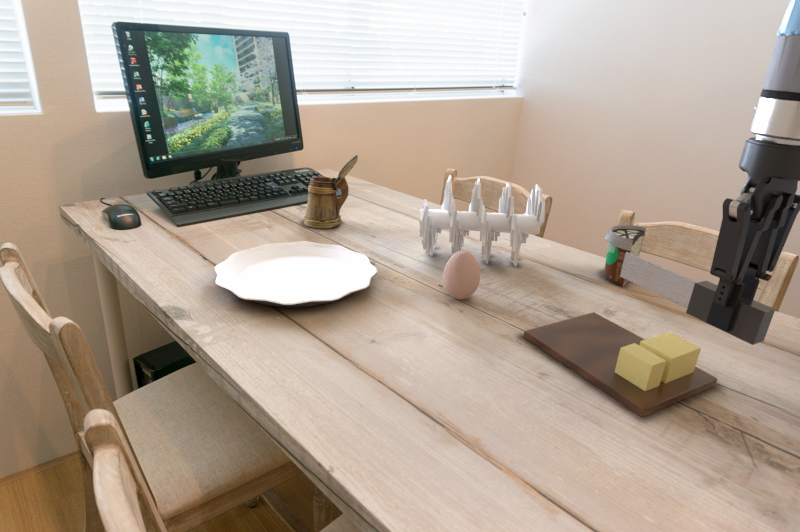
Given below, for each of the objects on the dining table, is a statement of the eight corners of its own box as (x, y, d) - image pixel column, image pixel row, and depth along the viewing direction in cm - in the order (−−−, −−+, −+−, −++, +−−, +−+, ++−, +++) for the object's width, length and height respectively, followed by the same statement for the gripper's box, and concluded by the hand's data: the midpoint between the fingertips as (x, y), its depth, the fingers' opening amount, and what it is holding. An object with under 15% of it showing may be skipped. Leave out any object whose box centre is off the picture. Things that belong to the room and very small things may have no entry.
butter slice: (659, 385, 71) (666, 360, 70) (645, 391, 70) (652, 365, 68) (628, 367, 75) (634, 342, 74) (614, 372, 74) (620, 347, 72)
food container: (607, 263, 117) (616, 220, 113) (636, 271, 114) (647, 226, 110) (590, 280, 108) (599, 233, 104) (621, 288, 105) (632, 240, 101)
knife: (763, 341, 65) (775, 309, 64) (752, 345, 64) (764, 312, 63) (625, 277, 82) (632, 250, 81) (614, 279, 81) (621, 251, 80)
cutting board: (715, 385, 74) (718, 378, 74) (641, 417, 67) (644, 409, 66) (592, 318, 92) (594, 312, 91) (523, 337, 84) (524, 330, 84)
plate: (184, 277, 98) (182, 265, 97) (307, 242, 119) (306, 232, 118) (283, 334, 81) (282, 320, 80) (406, 281, 102) (407, 270, 101)
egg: (484, 303, 95) (490, 255, 92) (453, 308, 92) (458, 260, 89) (464, 288, 101) (469, 243, 97) (434, 293, 98) (438, 247, 94)
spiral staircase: (422, 262, 122) (533, 270, 119) (412, 255, 105) (542, 264, 101) (428, 184, 124) (538, 189, 120) (419, 165, 106) (547, 170, 102)
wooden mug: (348, 233, 126) (350, 158, 120) (297, 225, 130) (296, 151, 123) (362, 223, 134) (364, 152, 128) (313, 216, 138) (313, 146, 131)
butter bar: (693, 372, 75) (701, 347, 74) (665, 383, 72) (672, 358, 70) (662, 355, 79) (669, 331, 78) (633, 365, 76) (640, 341, 74)
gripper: (787, 133, 66) (731, 302, 75) (712, 135, 59) (660, 322, 68) (858, 144, 60) (788, 326, 69) (784, 147, 53) (716, 351, 62)
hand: (724, 324), depth 68 cm, fingers closed on knife, 2 cm apart
